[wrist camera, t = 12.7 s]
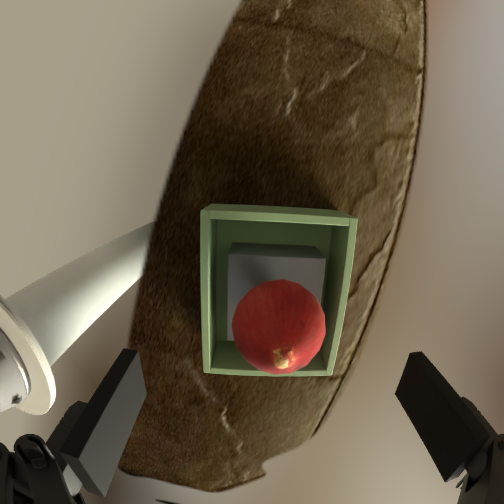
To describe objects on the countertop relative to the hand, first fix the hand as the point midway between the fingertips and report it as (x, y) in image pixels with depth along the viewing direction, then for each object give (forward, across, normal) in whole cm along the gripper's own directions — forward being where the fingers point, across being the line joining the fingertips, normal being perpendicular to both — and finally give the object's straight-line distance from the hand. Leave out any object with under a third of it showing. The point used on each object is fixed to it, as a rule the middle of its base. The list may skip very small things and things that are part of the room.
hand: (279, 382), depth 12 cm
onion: (+10, 0, 0) cm, 10 cm away
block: (+14, +1, 0) cm, 14 cm away
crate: (+14, +1, 0) cm, 14 cm away
